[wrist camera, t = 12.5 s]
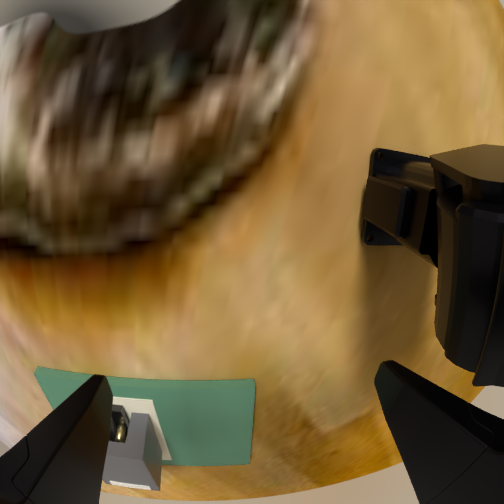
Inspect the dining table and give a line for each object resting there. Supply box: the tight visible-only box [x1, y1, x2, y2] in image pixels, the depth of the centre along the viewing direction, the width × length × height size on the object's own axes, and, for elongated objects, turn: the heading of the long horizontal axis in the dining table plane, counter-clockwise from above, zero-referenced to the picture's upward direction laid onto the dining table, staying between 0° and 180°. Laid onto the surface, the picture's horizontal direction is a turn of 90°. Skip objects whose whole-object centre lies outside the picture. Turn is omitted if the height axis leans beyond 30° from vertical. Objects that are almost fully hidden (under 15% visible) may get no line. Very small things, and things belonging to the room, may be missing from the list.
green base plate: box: [34, 367, 255, 466], centre depth 24 cm, size 20×14×1 cm
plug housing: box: [102, 412, 162, 491], centre depth 20 cm, size 6×7×5 cm
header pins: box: [111, 404, 130, 443], centre depth 22 cm, size 1×9×2 cm, turn 178°
